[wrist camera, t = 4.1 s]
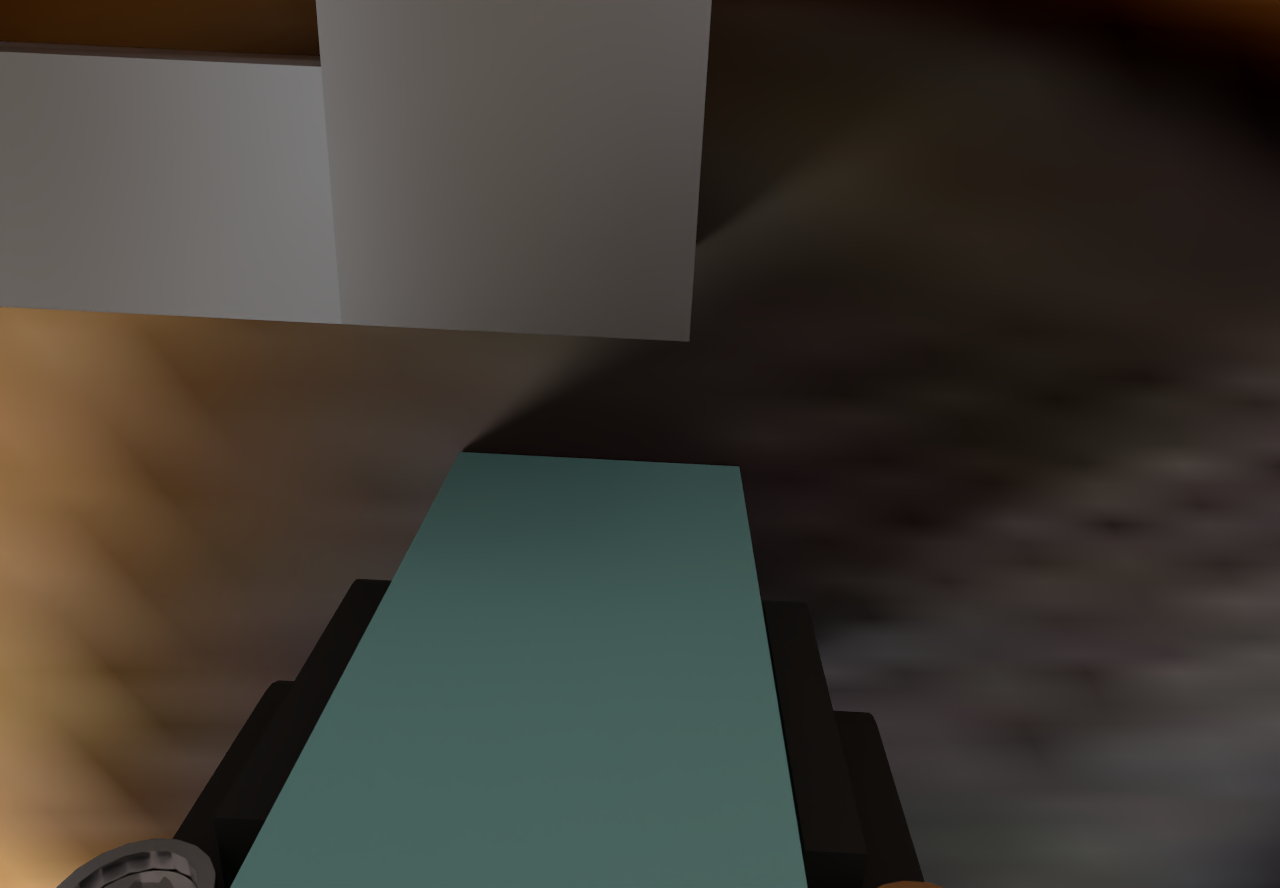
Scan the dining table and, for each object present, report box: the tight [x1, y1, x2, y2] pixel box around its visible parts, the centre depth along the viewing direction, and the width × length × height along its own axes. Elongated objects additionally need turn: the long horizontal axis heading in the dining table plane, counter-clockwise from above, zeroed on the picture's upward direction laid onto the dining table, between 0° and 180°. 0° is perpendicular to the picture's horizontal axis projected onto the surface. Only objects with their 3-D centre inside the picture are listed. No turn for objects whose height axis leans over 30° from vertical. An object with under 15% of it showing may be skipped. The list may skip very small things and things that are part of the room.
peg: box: [230, 452, 808, 888], centre depth 10 cm, size 4×4×10 cm
